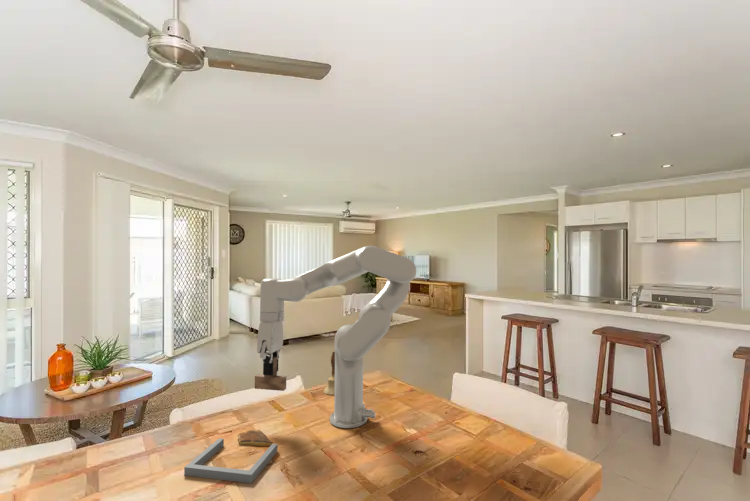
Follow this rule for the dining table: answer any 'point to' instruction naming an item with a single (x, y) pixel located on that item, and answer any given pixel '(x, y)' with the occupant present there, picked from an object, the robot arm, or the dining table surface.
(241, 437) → the shard
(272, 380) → the brown wooden block
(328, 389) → the hand bell
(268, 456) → the frame
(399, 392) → the dining table surface
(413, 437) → the dining table surface
